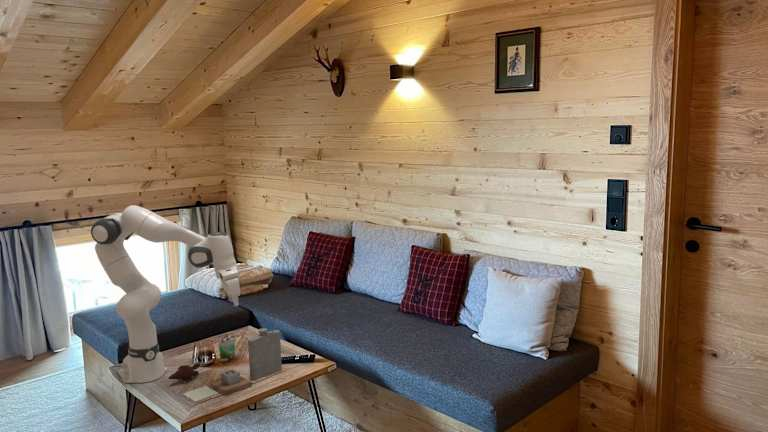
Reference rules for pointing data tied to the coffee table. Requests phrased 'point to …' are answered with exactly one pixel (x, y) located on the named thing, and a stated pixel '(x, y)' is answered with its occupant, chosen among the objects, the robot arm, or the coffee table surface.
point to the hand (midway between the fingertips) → (234, 303)
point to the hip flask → (264, 354)
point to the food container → (227, 348)
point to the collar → (230, 377)
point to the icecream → (185, 372)
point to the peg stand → (232, 388)
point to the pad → (200, 393)
